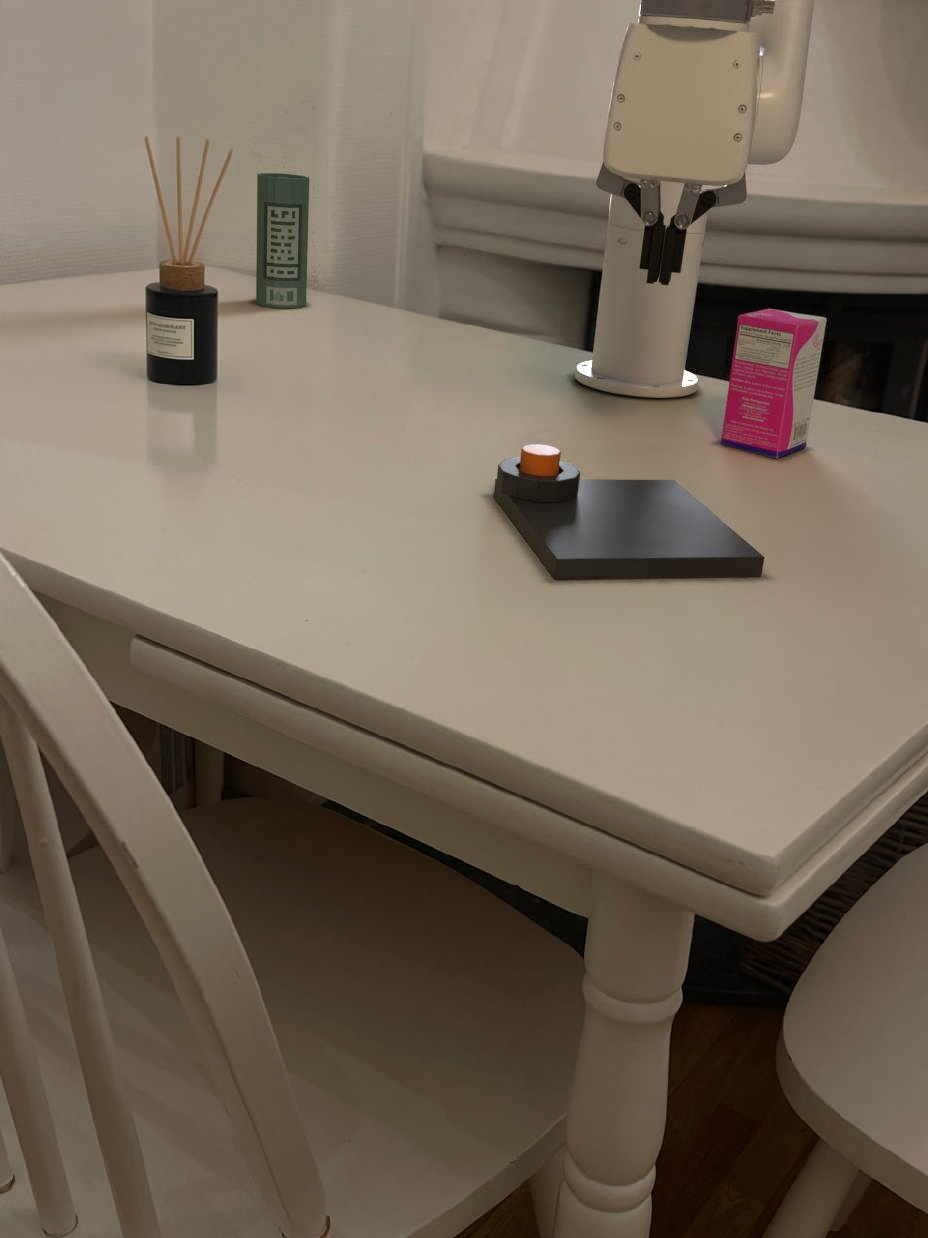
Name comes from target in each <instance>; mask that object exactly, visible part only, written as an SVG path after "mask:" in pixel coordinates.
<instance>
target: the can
mask: <svg viewBox="0 0 928 1238" xmlns="http://www.w3.org/2000/svg"><path fill="white" fill-rule="evenodd" d="M256 176H257V181H256V185H257V186H256V188H257V189H256V272H255V273H256V276H255V277H256V279H255V281H256V282H255V283H256V287H255V290H256V292H255V297H256V298H255V305H259V306H262V307H266V308H273V309H297V308H298V309H300V308H304V307H307V289H308V287H307V286H308V252H309V251H308V246H309V209H310V208H309V206H310V205H309V203H310V176H306V175H301V174H292V173H282V172H281V173H278V172H260V173H259V172H258V173H257V175H256Z"/></svg>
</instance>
